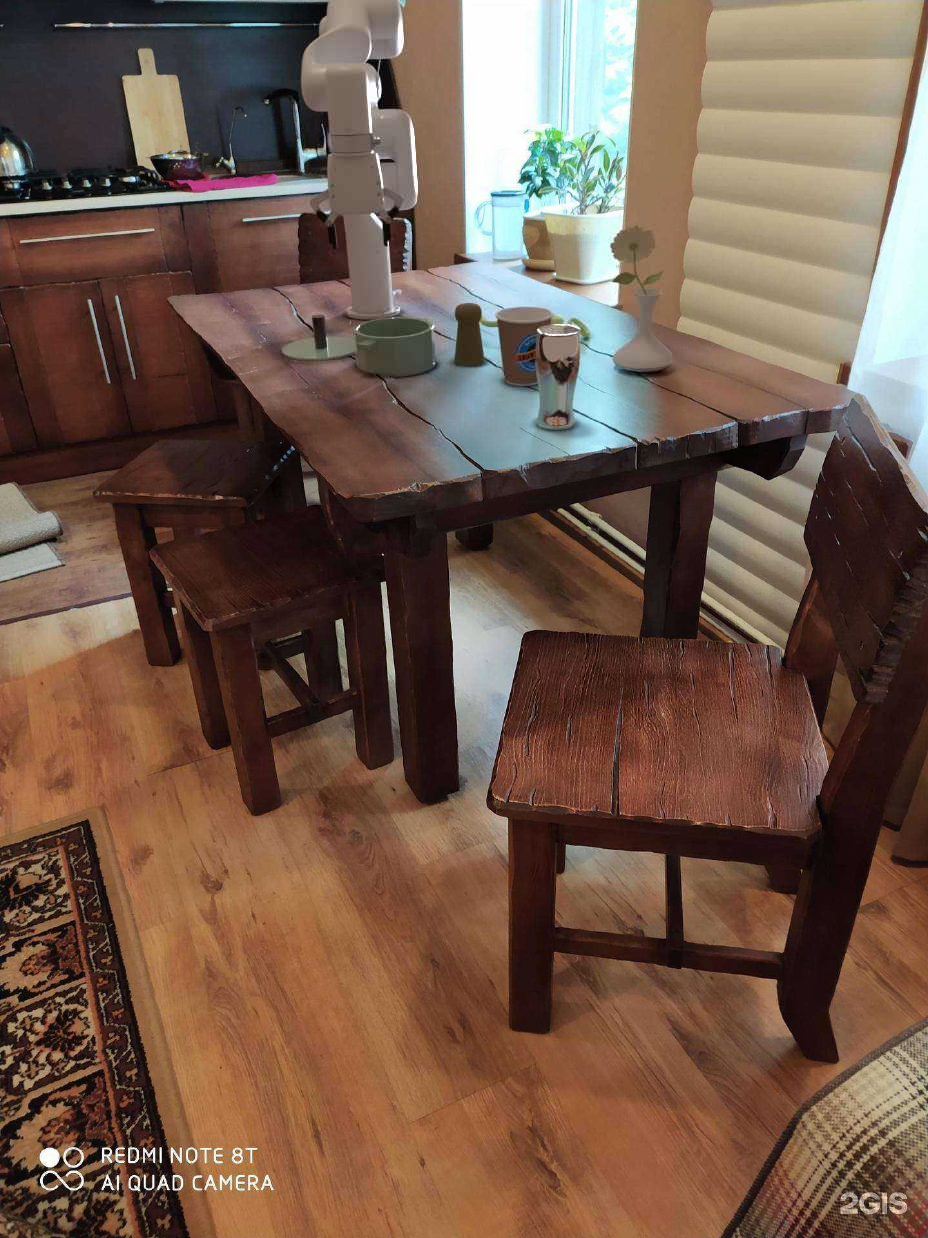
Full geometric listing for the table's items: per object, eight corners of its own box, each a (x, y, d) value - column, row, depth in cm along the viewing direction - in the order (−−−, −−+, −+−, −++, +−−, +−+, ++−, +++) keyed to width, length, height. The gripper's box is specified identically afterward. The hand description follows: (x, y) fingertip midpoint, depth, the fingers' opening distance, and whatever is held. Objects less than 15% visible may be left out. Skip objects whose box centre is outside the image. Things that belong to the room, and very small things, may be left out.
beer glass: (531, 417, 149) (532, 324, 141) (572, 415, 149) (576, 322, 141) (537, 432, 143) (539, 336, 135) (581, 429, 143) (585, 334, 135)
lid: (266, 357, 183) (260, 321, 179) (315, 338, 194) (311, 303, 190) (329, 367, 176) (325, 329, 172) (377, 346, 187) (374, 310, 183)
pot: (333, 374, 172) (328, 335, 168) (393, 347, 187) (390, 311, 183) (399, 385, 165) (396, 345, 161) (456, 355, 180) (455, 318, 176)
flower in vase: (676, 361, 173) (690, 220, 159) (668, 379, 164) (681, 231, 150) (609, 356, 176) (617, 218, 163) (597, 374, 167) (604, 229, 154)
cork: (481, 366, 173) (480, 307, 167) (451, 365, 174) (449, 307, 169) (487, 357, 178) (486, 300, 172) (457, 356, 179) (455, 299, 174)
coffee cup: (513, 392, 160) (513, 323, 153) (485, 377, 167) (484, 311, 161) (562, 382, 163) (564, 315, 157) (533, 368, 171) (534, 303, 165)
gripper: (398, 141, 166) (404, 240, 175) (304, 145, 164) (315, 245, 174) (401, 145, 159) (407, 247, 169) (302, 149, 158) (314, 252, 167)
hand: (360, 246), depth 171 cm, fingers open, 9 cm apart
